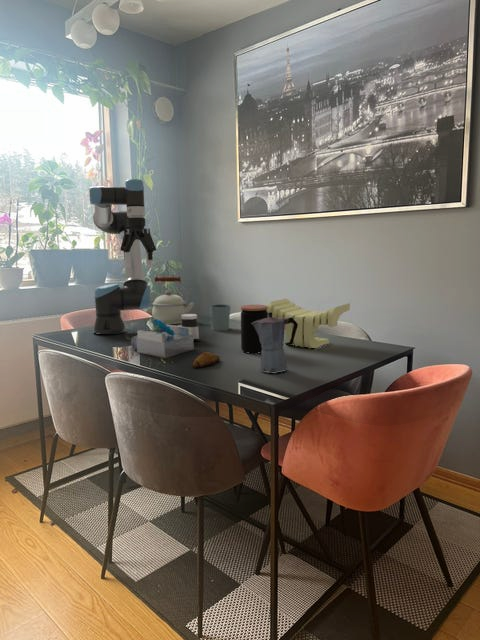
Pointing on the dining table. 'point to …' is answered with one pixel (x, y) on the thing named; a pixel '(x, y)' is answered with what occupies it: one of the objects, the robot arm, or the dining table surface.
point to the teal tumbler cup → (220, 317)
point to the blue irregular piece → (163, 327)
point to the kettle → (169, 304)
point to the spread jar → (191, 324)
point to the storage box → (163, 342)
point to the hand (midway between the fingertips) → (138, 267)
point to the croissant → (205, 360)
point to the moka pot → (273, 341)
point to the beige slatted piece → (305, 321)
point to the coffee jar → (251, 327)
